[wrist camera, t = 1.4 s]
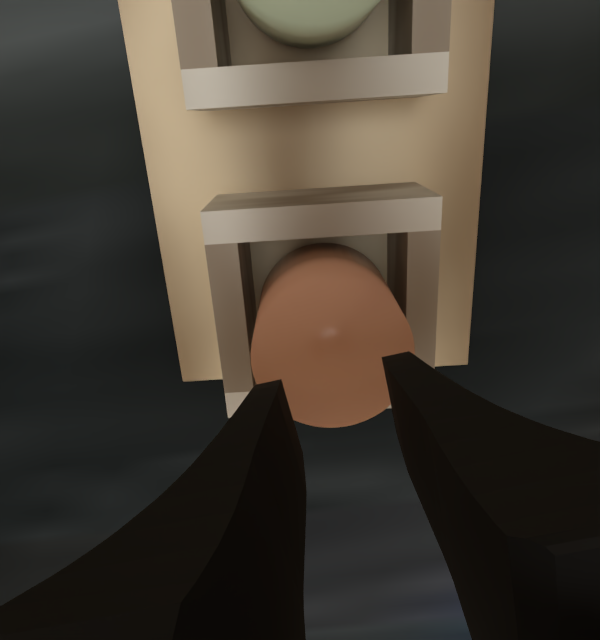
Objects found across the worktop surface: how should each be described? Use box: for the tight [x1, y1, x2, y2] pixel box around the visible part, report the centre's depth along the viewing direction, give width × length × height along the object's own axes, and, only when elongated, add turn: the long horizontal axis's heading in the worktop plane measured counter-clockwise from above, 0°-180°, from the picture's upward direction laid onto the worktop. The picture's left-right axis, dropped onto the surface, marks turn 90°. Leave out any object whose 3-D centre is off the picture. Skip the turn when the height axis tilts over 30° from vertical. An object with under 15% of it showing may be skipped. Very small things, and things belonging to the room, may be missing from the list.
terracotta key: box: [250, 243, 415, 428], centre depth 15 cm, size 4×4×4 cm
